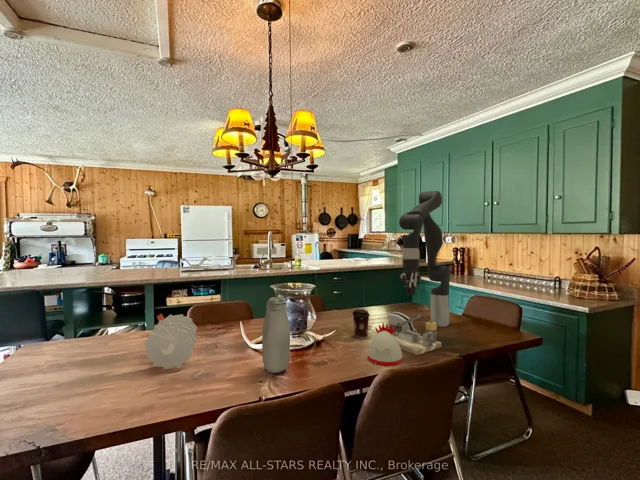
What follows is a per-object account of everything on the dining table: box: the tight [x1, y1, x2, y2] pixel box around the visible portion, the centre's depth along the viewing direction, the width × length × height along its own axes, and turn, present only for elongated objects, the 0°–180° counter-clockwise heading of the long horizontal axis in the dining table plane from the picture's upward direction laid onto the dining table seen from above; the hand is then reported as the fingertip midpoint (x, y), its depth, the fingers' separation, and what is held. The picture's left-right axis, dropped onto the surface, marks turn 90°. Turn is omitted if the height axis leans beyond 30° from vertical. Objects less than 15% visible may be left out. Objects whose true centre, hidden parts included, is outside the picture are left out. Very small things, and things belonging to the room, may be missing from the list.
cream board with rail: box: [392, 322, 442, 356], centre depth 151 cm, size 17×22×8 cm
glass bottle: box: [261, 296, 291, 374], centre depth 121 cm, size 10×10×28 cm
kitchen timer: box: [367, 322, 403, 367], centre depth 133 cm, size 14×14×15 cm
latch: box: [425, 320, 438, 331], centre depth 149 cm, size 4×3×4 cm
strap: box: [396, 313, 423, 329], centre depth 152 cm, size 3×17×1 cm
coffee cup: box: [352, 308, 370, 339], centre depth 162 cm, size 9×8×13 cm
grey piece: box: [387, 311, 418, 333], centre depth 174 cm, size 17×5×10 cm, turn 27°
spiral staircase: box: [144, 314, 199, 370], centre depth 132 cm, size 18×18×25 cm
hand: (410, 294), depth 150 cm, fingers open, 2 cm apart
